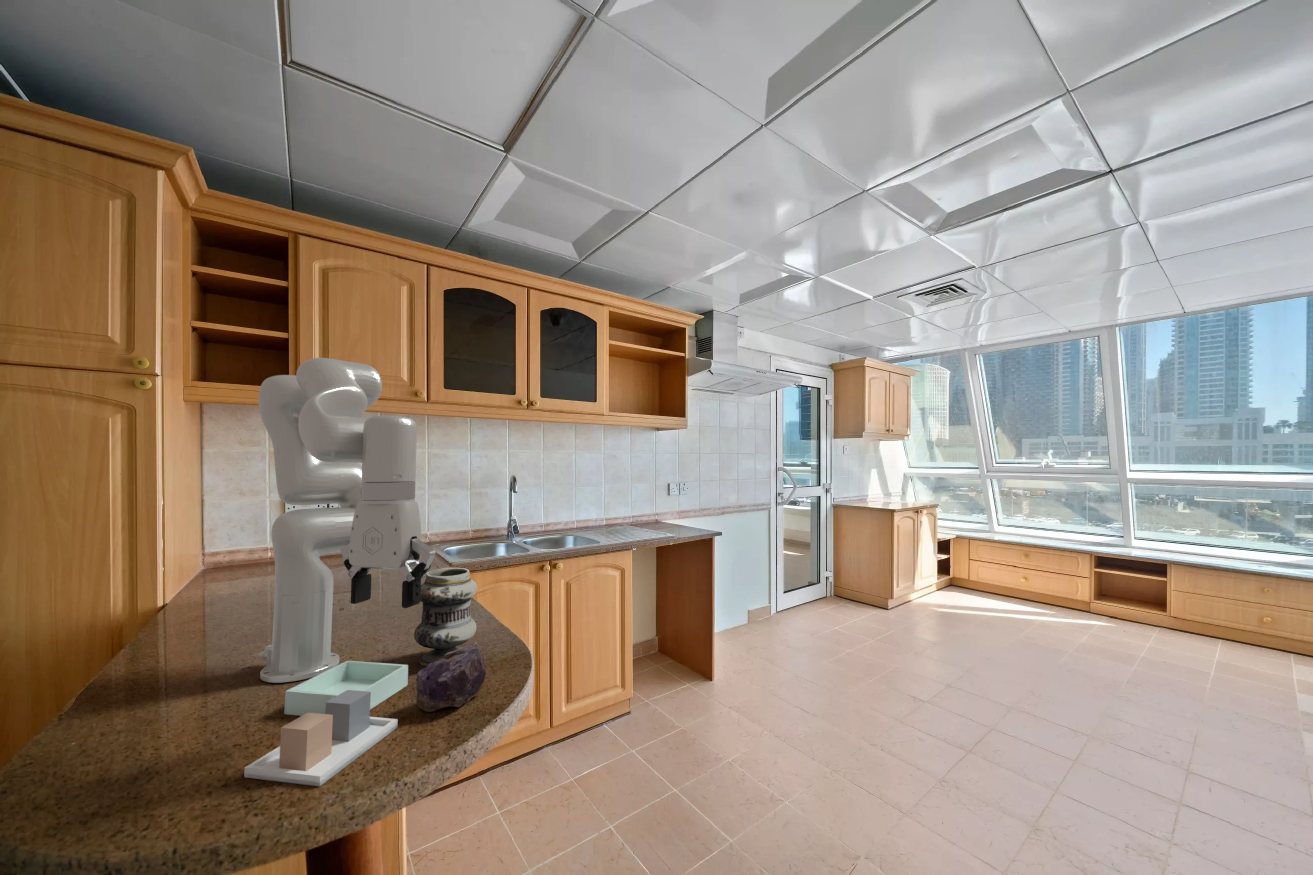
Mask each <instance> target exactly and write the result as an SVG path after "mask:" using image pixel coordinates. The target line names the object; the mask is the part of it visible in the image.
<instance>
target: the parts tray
mask: <svg viewBox="0 0 1313 875" xmlns="http://www.w3.org/2000/svg"><path fill="white" fill-rule="evenodd" d="M398 721H399V720H398V718H389V717H377V716H370V725H369V728H367V729H366V730H365V731H363V732H362V733H360V734H359V735H357V736H356V737H355V738H353V739H352V740H350V741H349V742H346V741H336V740H332V748H331V754H330V755H329V756H328V757H326V758H325V759H323V760H322V761H320V762H319V763H318V764H316V765H315V766H313V767H312V768H311V769H309V770H308V771H299V770H290V769H282V768H279V762H280V745H279V746H278V747H276V748H275V749H273V750H271V751H269V752H267V753H266V754H265V755H263V756H261V757H260V758H258V759H256V760H255V761H253V762H251V763H250V764H248V765H247V766H245V767H244V772H243V773H244V774H243V775H244V776H243V778H248V779H255V780H256V779H257V780H265V781H271V782H280V783H288V784H295V785H296V784H297V785H298V784H299V785H305V786H306V785H307V786H314V787H321V786H322V785H324V784H325V783H326V782H328V781H329V780H330V779H331V778H333V777H335V775H337V774H338V773H340V772H341V771H342V770H343V769H345V768H346V767H347V766H349V765H350V764H351V763H352V762H354V761H355V760H356V759H358V758H359V757H360V756H362V755H363V754H364V753H366V752H367V751H368V750H369V749H371V748H372V747H374V746H375V745H376V744H378V743H379V742H380V741H381V740H383V739H384V738H386V737H387V736H388V735H389V734H390V733H392V732H393V731H395V730H397V729H398Z"/></svg>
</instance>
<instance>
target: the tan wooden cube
mask: <svg viewBox="0 0 1313 875" xmlns="http://www.w3.org/2000/svg"><path fill="white" fill-rule="evenodd" d="M332 723H333V715H329V714H318V713H306V714H304V715H303V716H299V717H298V718H296V719H294V720H292V721H290V722H288V723H287V724H285V725H283V726H282V727H281V728H280V743H279V746H280V762H279V768H282V769H290V770H299V771H308V770H309V769H311V768H312V767H313V766H315V765H316V764H318V763H319V762H320V761H322V760H323V759H325V758H326V757H328V756H329V755H330V754H331V748H332Z"/></svg>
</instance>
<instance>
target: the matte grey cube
mask: <svg viewBox="0 0 1313 875" xmlns="http://www.w3.org/2000/svg"><path fill="white" fill-rule="evenodd" d="M370 697H371V692H367V691H355V690H347V691H345V692H343V693H341V694H339V695H338V696H336V697H334V698H332V699H331V700H329V701H327V702H326V710H325V714H329V715H333V723H332V740H336V741H346V742H349V741H350V740H352V739H353V738H355V737H356V736H357V735H359V734H360V733H362V732H363V731H365V730H366V729H367V728H369V725H370V717H371V709H370Z"/></svg>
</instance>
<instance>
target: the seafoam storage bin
mask: <svg viewBox="0 0 1313 875" xmlns="http://www.w3.org/2000/svg"><path fill="white" fill-rule="evenodd" d="M408 678H409V665H408V664H401V663H400V664H399V663H387V662H386V663H385V662H374V661H373V662H371V661H359V660H346V661H344V662H341V663H339V664H338V665H337V666H336V667H333V668H331V669H329V670H327V671H325V672H323V673H321V674H319V675H317V676H314V677H311V678H308V680H307V679H306V680H305V681H303V682H301V683H299V684H297V685H294V686H293V687H290V688H289V689H287V690H285V691H284V692H285V693H284V710H283V711H284V712H283V713H284V715H290V716H299V717H301V716H303V715H304V714H306V713H318V714H325V710H326V702H327V701H329V700H331V699H332V698H334V697H336V696H338V695H339V694H341V693H343V692H345V691H347V690H355V691H367V692H371V697H370V710H372V709H373V708H375V707H376V706H378V705H379V704H381V703H382V702H384V701H386V700H387V699H389V698H390V697H391V696H393V695H395V694H396V693H397V692H399V691H401V690H402V689H404V688H406V687H407V686H408V685H409V684H408V683H409V682H408V681H409V680H408Z"/></svg>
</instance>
